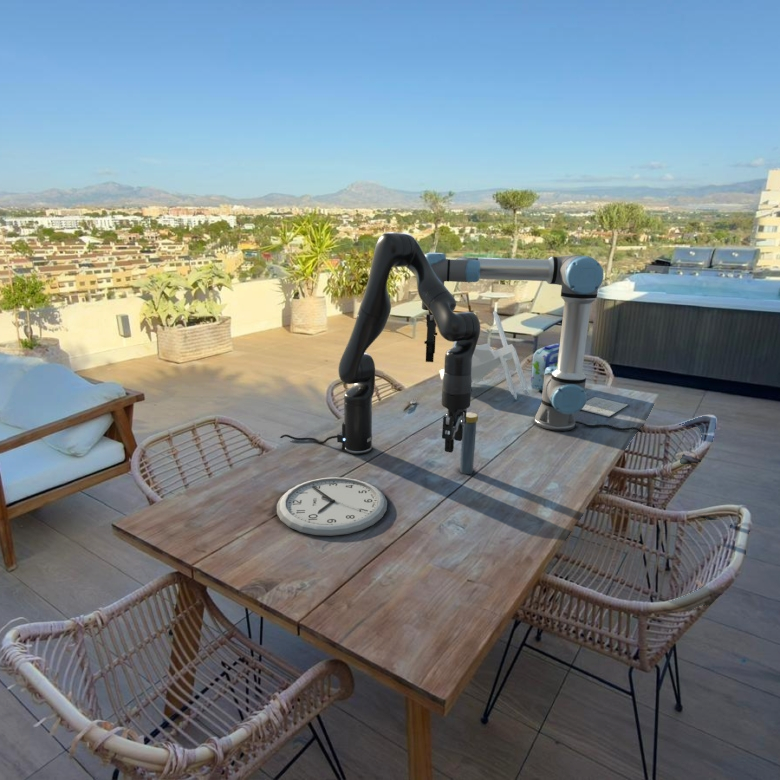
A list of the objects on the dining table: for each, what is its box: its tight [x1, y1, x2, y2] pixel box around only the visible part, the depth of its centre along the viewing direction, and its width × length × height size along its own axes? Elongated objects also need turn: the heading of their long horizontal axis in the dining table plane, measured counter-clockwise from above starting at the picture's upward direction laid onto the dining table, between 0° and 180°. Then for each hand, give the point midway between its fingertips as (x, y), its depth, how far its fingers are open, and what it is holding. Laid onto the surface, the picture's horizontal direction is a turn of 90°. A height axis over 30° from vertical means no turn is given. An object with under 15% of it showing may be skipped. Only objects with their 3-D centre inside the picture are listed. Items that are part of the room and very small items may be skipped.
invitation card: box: [580, 396, 629, 418], centre depth 226 cm, size 21×1×15 cm
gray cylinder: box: [459, 422, 477, 475], centre depth 161 cm, size 4×4×18 cm
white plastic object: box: [438, 310, 531, 400], centre depth 245 cm, size 37×45×31 cm
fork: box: [403, 395, 419, 411], centre depth 222 cm, size 3×16×2 cm, turn 160°
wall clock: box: [276, 476, 388, 537], centre depth 142 cm, size 30×2×30 cm
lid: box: [466, 411, 479, 423], centre depth 159 cm, size 5×5×2 cm
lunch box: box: [530, 343, 560, 391], centre depth 249 cm, size 26×11×21 cm, turn 134°
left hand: (453, 445), depth 142 cm, fingers open, 8 cm apart
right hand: (430, 357), depth 190 cm, fingers open, 13 cm apart
